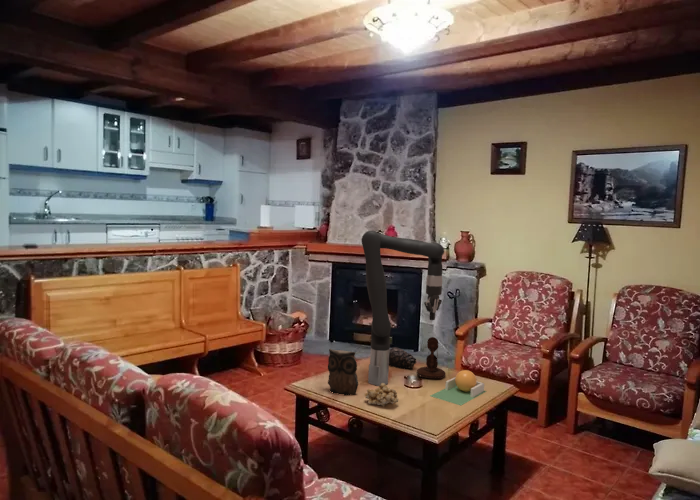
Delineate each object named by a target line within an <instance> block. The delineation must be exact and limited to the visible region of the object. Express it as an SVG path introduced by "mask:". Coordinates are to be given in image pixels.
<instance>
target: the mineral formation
mask: <svg viewBox="0 0 700 500" xmlns="http://www.w3.org/2000/svg"><path fill="white" fill-rule="evenodd" d="M364 397H365V399H367V400H368V402H367V404H370V405H379V406H382V407H385V406H386V405H387V404H389V403H390V404H394V403H395V404H396V403H399V398H398V392H397V390H396V389H395V388H391V389H390V387H389V386H388V385H387V384H384V383H381V384H380V385H379V386H378V387H376V388H375V389H370V388H367V389H366V392H365V393H364Z"/></svg>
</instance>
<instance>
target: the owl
mask: <svg viewBox="0 0 700 500" xmlns="http://www.w3.org/2000/svg"><path fill="white" fill-rule="evenodd" d="M328 352H329V357H328V360H327V361H328V364H327V369H328V373H329V374H328V379H327V385H329V388H330V389H329V390H330V391H331V392H330V391H329V392H330V393H332V392H333V393H332V394H334V393H338V395H339V394H344V395H343V396H356V395H357V391H358V386H359V380H358V375H357V371H358V363H357V360H356V352H354V351H349V350H348V351H347V350H342V349H341V350H340V349H339V350H338V349H337V350H336V349H332V348H329V350H328Z"/></svg>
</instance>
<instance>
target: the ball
mask: <svg viewBox="0 0 700 500" xmlns="http://www.w3.org/2000/svg"><path fill="white" fill-rule="evenodd" d="M455 377H456V378H455V383H456V385H457V387H458V388H459V389H460V390H462V391H465V392H468V391H471V388H473V387H475V386H476V383H477V376H476V375H475V374H474V373H473V372H472V371H470V370H469V369H463V370H460V371H459V372H457V373H456V375H455Z"/></svg>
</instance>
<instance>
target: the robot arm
mask: <svg viewBox="0 0 700 500" xmlns="http://www.w3.org/2000/svg"><path fill="white" fill-rule="evenodd" d="M361 246H362V249H363V254H364V258H365V280H366V288H367V289H366V290H367V293H368V299H369V303H370V306H371V313H372V314H371V315H372V317H371V318H372V320H371V327H370V328H371V334H370V356H369V358H370V359H369V364H368V376H367V377H368V378H367V379H368V381H367V383H368V384H370V385H372V386H376V387H380V384H381V383H384V384H386V385H388V383H389V370H390V369H389V367H390V366H389V350H390V349H391V348H390V347H391V341H390V340H391V337H390V336H391V330H392V324H391V320H390V317H389V311H388V302H387V301H388V295H387V294H388V293H387V282H386V276H385V275H386V274H385V271H384V267H383V262H382V258H381V249H386V250H387V249H388V250H392V251H397V252H401V253H403V254H404V253H405V254H409V255H410V254H411V255H417V256H424V257H427V258H428V260H427V263H428V265H427V272H426V273H427V275H426V281H425V282H426V283H425V285H426V286H425V294H426V295H427V298H426V301H424V302H423V303H424V307H425V310H426V312H429V317H428V318H429V320H430V321H435V320H436V313H437V311H439V309H440V307H441V304H442V302H443V301H442V300H443V299H440V296H441V295H442V292H443V291H442V289H443V256H444V254H445V249H444V247H443V245H442V244H440V243H439V242H425V241H423V240H419V239H412V238H406V237H405V238H404V237H396V236H389V235H386V234H382V233H380V232H377V231H375V230H368V231H365V232H364V233H363V235H362V237H361Z"/></svg>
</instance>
